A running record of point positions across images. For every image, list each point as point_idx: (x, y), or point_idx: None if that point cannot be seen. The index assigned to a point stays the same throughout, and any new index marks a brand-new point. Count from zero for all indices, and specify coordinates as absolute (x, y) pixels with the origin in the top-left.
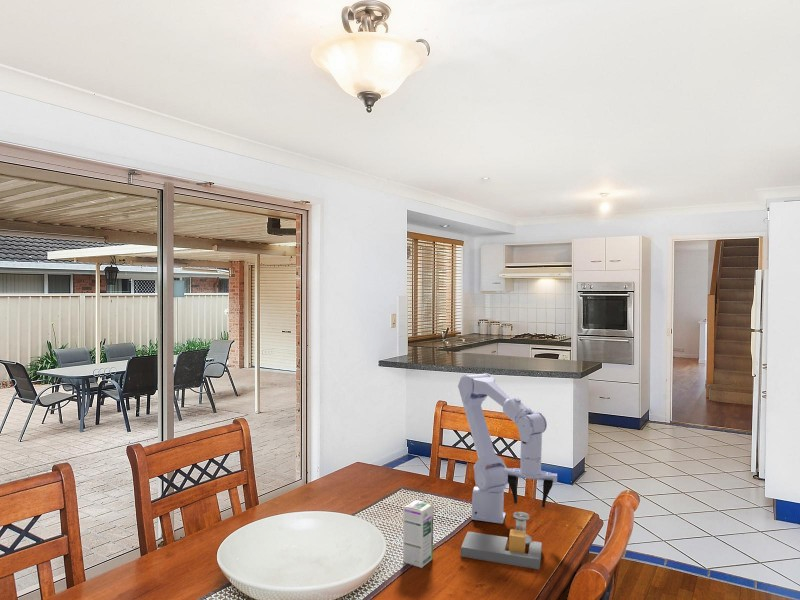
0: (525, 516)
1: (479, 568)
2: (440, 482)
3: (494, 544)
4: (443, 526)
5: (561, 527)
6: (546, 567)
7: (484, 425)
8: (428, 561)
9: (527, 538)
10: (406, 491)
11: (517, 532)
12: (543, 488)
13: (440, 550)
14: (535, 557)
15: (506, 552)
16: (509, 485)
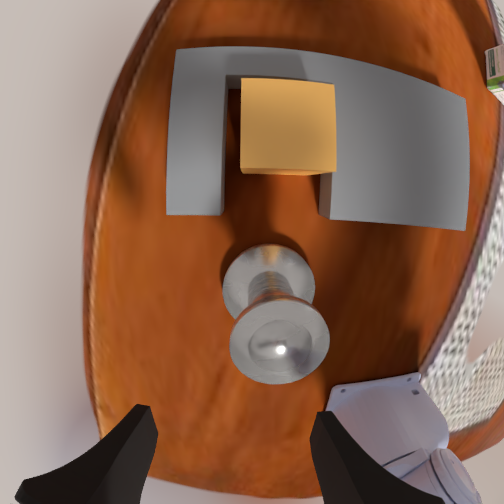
0: (252, 334)
1: (383, 37)
2: None
3: (378, 130)
4: (484, 297)
5: None
6: (159, 89)
7: None
8: (487, 68)
9: (239, 292)
10: (489, 412)
11: (291, 132)
12: (86, 499)
13: (487, 139)
14: (193, 57)
15: (320, 66)
16: (416, 488)
